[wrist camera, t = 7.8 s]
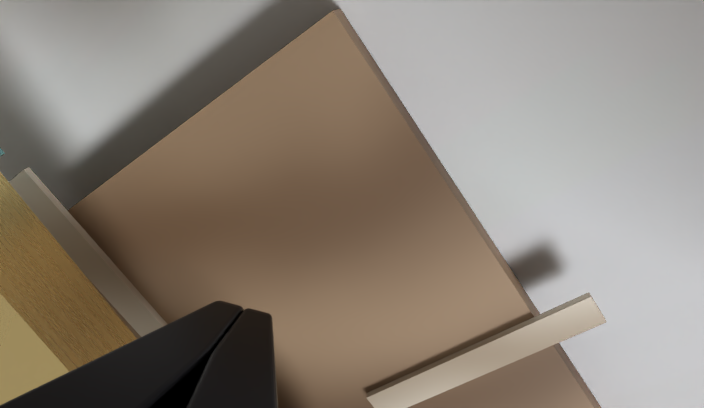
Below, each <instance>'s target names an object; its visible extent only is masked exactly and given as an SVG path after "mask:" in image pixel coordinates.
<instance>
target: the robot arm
mask: <svg viewBox="0 0 704 408" xmlns="http://www.w3.org/2000/svg"><path fill="white" fill-rule="evenodd" d="M0 408H278V396H277V381H276V366H275V351H274V336H273V321H272V316H271V315H270V314H269V313H266V312H262V311H258V310H255V309H251V308H247V309H245V310H244V309H243V307H242V306H239V305H236V304H232V303H228V302H225V301H220V300H219V301H215V302H212V303H210V304H208V305H206V306H204V307H202V308H200V309H198V310H196V311H194V312H192V313H190V314H188V315H186V316H183V317H181V318H179V319H177V320H175V321H173V322H171V323H169V324H167V325H165V326H163V327H161V328H159V329H157V330H155V331H152V332H150V333H148V334H146V335H144V336H142V337H140V338H138V339H136V340H134V341H132V342H130V343H128V344H126V345H124V346H121V347H119V348H117V349H115V350H113V351H111V352H109V353H107V354H105V355H103V356H101V357H99V358H97V359H95V360H92V361H90V362H88V363H86V364H84V365H82V366H80V367H78V368H76V369H74V370H72V371H70V372H68V373H66V374H64V375H61V376H59V377H57V378H55V379H53V380H51V381H49V382H47V383H45V384H43V385H41V386H39V387H37V388H35V389H33V390H30V391H28V392H26V393H24V394H22V395H20V396H18V397H16V398H14V399H12V400H10V401H8V402H6V403H4V404H2V405H0Z"/></svg>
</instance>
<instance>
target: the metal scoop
mask: <svg viewBox="0 0 704 408" xmlns="http://www.w3.org/2000/svg"><path fill="white" fill-rule="evenodd" d="M3 154H5V153H4V152H3V150H2V149H1V148H0V157H1V156H2V155H3ZM136 339H137V338H136V337H135V336H134V334H133V333H132V332H131V331H130V330H129V328H128V327H127V326H126V325H125V323H124V322H123V321H122V320H121V319H120V317H119V316H118V315H117V314H116V312H115V311H114V310H113V309H112V308H111V306H110V305H109V304H108V303H107V301H106V300H105V299H104V298H103V297H102V295H101V294H100V293H99V292H98V290H97V289H96V288H95V287H94V286H93V284H92V283H91V282H90V281H89V280H88V278H87V277H86V276H85V275H84V273H83V272H82V271H81V270H80V269H79V267H78V266H77V265H76V264H75V262H74V261H73V260H72V259H71V258H70V256H69V255H68V254H67V253H66V251H65V250H64V249H63V248H62V247H61V245H60V244H59V243H58V242H57V240H56V239H55V238H54V237H53V236H52V234H51V233H50V232H49V231H48V229H47V228H46V227H45V226H44V225H43V223H42V222H41V221H40V220H39V219H38V217H37V216H36V215H35V214H34V212H33V211H32V210H31V209H30V208H29V206H28V205H27V204H26V203H25V201H24V200H23V199H22V198H21V197H20V195H19V194H18V193H17V192H16V190H15V189H14V188H13V187H12V186H11V184H10V183H9V182H8V181H7V179H6V178H5V177H4V176H3V175H2V173H1V172H0V405H2V404H4V403H6V402H8V401H10V400H12V399H14V398H16V397H18V396H20V395H22V394H24V393H26V392H28V391H30V390H33V389H35V388H37V387H39V386H41V385H43V384H45V383H47V382H49V381H51V380H53V379H55V378H57V377H59V376H61V375H64V374H66V373H68V372H70V371H72V370H74V369H76V368H78V367H80V366H82V365H84V364H86V363H88V362H90V361H92V360H95V359H97V358H99V357H101V356H103V355H105V354H107V353H109V352H111V351H113V350H115V349H117V348H119V347H121V346H124V345H126V344H128V343H130V342H132V341H134V340H136Z"/></svg>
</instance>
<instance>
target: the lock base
mask: <svg viewBox="0 0 704 408" xmlns="http://www.w3.org/2000/svg"><path fill="white" fill-rule="evenodd" d="M9 183H10V184H11V186H12V187H13V188H14V189H15V190H16V192H17V193H18V194H19V195H20V197H21V198H22V199H23V200H24V201H25V203H26V204H27V205H28V206H29V208H30V209H31V210H32V211H33V212H34V214H35V215H36V216H37V217H38V219H39V220H40V221H41V222H42V223H43V225H44V226H45V227H46V228H47V229H48V231H49V232H50V233H51V234H52V236H53V237H54V238H55V239H56V240H57V242H58V243H59V244H60V245H61V247H62V248H63V249H64V250H65V251H66V253H67V254H68V255H69V256H70V258H71V259H72V260H73V261H74V262H75V264H76V265H77V266H78V267H79V269H80V270H81V271H82V272H83V273H84V275H85V276H86V277H87V278H88V280H89V281H90V282H91V283H92V284H93V286H94V287H95V288H96V289H97V290H98V292H99V293H100V294H101V295H102V297H103V298H104V299H105V300H106V301H107V303H108V304H109V305H110V306H111V308H112V309H113V310H114V311H115V312H116V314H117V315H118V316H119V317H120V319H121V320H122V321H123V322H124V323H125V325H126V326H127V327H128V328H129V330H130V331H131V332H132V333H133V334H134V336H135V337H136V338H137V339H138V338H140V337H142V336H144V335H146V334H148V333H150V332H152V331H155V330H157V329H159V328H161V327H163V326H165V325H167V324H169V323H171V322H173V321H175V320H177V319H179V318H181V317H183V316H186V315H188V314H190V313H192V312H194V311H196V310H198V309H200V308H202V307H204V306H206V305H208V304H210V303H212V302H215V301H219V300H220V301H225V302H228V303H232V304H236V305H239V306H242V307H243V309H244V310H245V309H247V308H251V309H255V310H258V311H262V312H266V313H269V314H270V315H271V316H272V321H273V336H274V351H275V366H276V381H277V396H278V408H601V407H600V405H599V404H598V402H597V400H596V399H595V397H594V396H593V394H592V393H591V391H590V390H589V388H588V387H587V385H586V384H585V382H584V381H583V379H582V378H581V376H580V374H579V373H578V371H577V370H576V368H575V367H574V365H573V364H572V362H571V361H570V359H569V358H568V356H567V355H566V353H565V351H564V350H563V348H562V347H561V345H560V344H559V342H561V341H564V340H566V339H568V338H571V337H573V336H575V335H578V334H580V333H582V332H585V331H587V330H589V329H592V328H594V327H596V326H599V325H601V324H603V323H606V320H605V318H604V316H603V314H602V313H601V311H600V310H599V308H598V306H597V305H596V303H595V301H594V300H593V298H592V297H591V295H590V293H589V292H588V293H586V294H584V295H582V296H580V297H577V298H575V299H573V300H571V301H569V302H566V303H564V304H562V305H560V306H558V307H555V308H553V309H551V310H549V311H546V312H544V313H542V314H540V313H539V312H538V310H537V309H536V307H535V306H534V304H533V303H532V301H531V299H530V298H529V296H528V295H527V293H526V292H525V290H524V289H523V287H522V286H521V284H520V283H519V281H518V280H517V278H516V277H515V275H514V273H513V272H512V270H511V269H510V267H509V266H508V264H507V263H506V261H505V260H504V258H503V257H502V255H501V254H500V252H499V251H498V249H497V247H496V246H495V244H494V243H493V241H492V240H491V238H490V237H489V235H488V234H487V232H486V231H485V229H484V228H483V226H482V224H481V223H480V221H479V220H478V218H477V217H476V215H475V214H474V212H473V211H472V209H471V208H470V206H469V205H468V203H467V202H466V200H465V198H464V197H463V195H462V194H461V192H460V191H459V189H458V188H457V186H456V185H455V183H454V182H453V180H452V179H451V177H450V176H449V174H448V172H447V171H446V169H445V168H444V166H443V165H442V163H441V162H440V160H439V159H438V157H437V156H436V154H435V153H434V151H433V150H432V148H431V146H430V145H429V143H428V142H427V140H426V139H425V137H424V136H423V134H422V133H421V131H420V130H419V128H418V127H417V125H416V123H415V122H414V120H413V119H412V117H411V116H410V114H409V113H408V111H407V110H406V108H405V107H404V105H403V104H402V102H401V101H400V99H399V97H398V96H397V94H396V93H395V91H394V90H393V88H392V87H391V85H390V84H389V82H388V81H387V79H386V78H385V76H384V75H383V73H382V71H381V70H380V68H379V67H378V65H377V64H376V62H375V61H374V59H373V58H372V56H371V55H370V53H369V52H368V50H367V49H366V47H365V45H364V44H363V42H362V41H361V39H360V38H359V36H358V35H357V33H356V32H355V30H354V29H353V27H352V26H351V24H350V22H349V21H348V19H347V18H346V16H345V15H344V13H343V12H342V10H341V9H337V10H333V11H331V12H330V13H329V14H327V15H326V16H325V17H323V18H322V19H321V20H319V21H318V22H317V23H315V24H314V25H313V26H311V27H310V28H309V29H307V30H306V31H305V32H303V33H302V34H301V35H300V36H298V37H297V38H296V39H294V40H293V41H292V42H290V43H289V44H288V45H286V46H285V47H284V48H282V49H281V50H280V51H278V52H277V53H276V54H274V55H273V56H272V57H270V58H269V59H268V60H266V61H265V62H264V63H262V64H261V65H260V66H258V67H257V68H256V69H254V70H253V71H252V72H250V73H249V74H248V75H247V76H245V77H244V78H243V79H241V80H240V81H239V82H237V83H236V84H235V85H233V86H232V87H231V88H229V89H228V90H227V91H225V92H224V93H223V94H221V95H220V96H219V97H217V98H216V99H215V100H213V101H212V102H211V103H209V104H208V105H207V106H205V107H204V108H203V109H201V110H200V111H199V112H197V113H196V114H195V115H193V116H192V117H191V118H190V119H188V120H187V121H186V122H184V123H183V124H182V125H180V126H179V127H178V128H176V129H175V130H174V131H172V132H171V133H170V134H168V135H167V136H166V137H164V138H163V139H162V140H160V141H159V142H158V143H156V144H155V145H154V146H152V147H151V148H150V149H148V150H147V151H146V152H144V153H143V154H142V155H140V156H139V157H138V158H137V159H135V160H134V161H133V162H131V163H130V164H129V165H127V166H126V167H125V168H123V169H122V170H121V171H119V172H118V173H117V174H115V175H114V176H113V177H111V178H110V179H109V180H107V181H106V182H105V183H103V184H102V185H101V186H99V187H98V188H97V189H95V190H94V191H93V192H91V193H90V194H89V195H87V196H86V197H85V198H83V199H82V200H81V201H80V202H78V203H77V204H76V205H74V206H73V207H72V208H70V209H69V210H68V211H67V210H66V208H65V207H64V206H63V205H62V204H61V203H60V202H59V200H58V199H57V198H56V197H55V196H54V195H53V194H52V193H51V191H50V190H49V189H48V188H47V187H46V186H45V185H44V183H43V182H42V181H41V180H40V179H39V178H38V177H37V176H36V174H35V173H34V172H33V171H32V170H31V169H30V168H29V167H28V168H26V169H24V170H23V171H21V172H20V173H19V174H18V175H16V176H15V177H14V178H13V179H12V180H10V181H9Z"/></svg>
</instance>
